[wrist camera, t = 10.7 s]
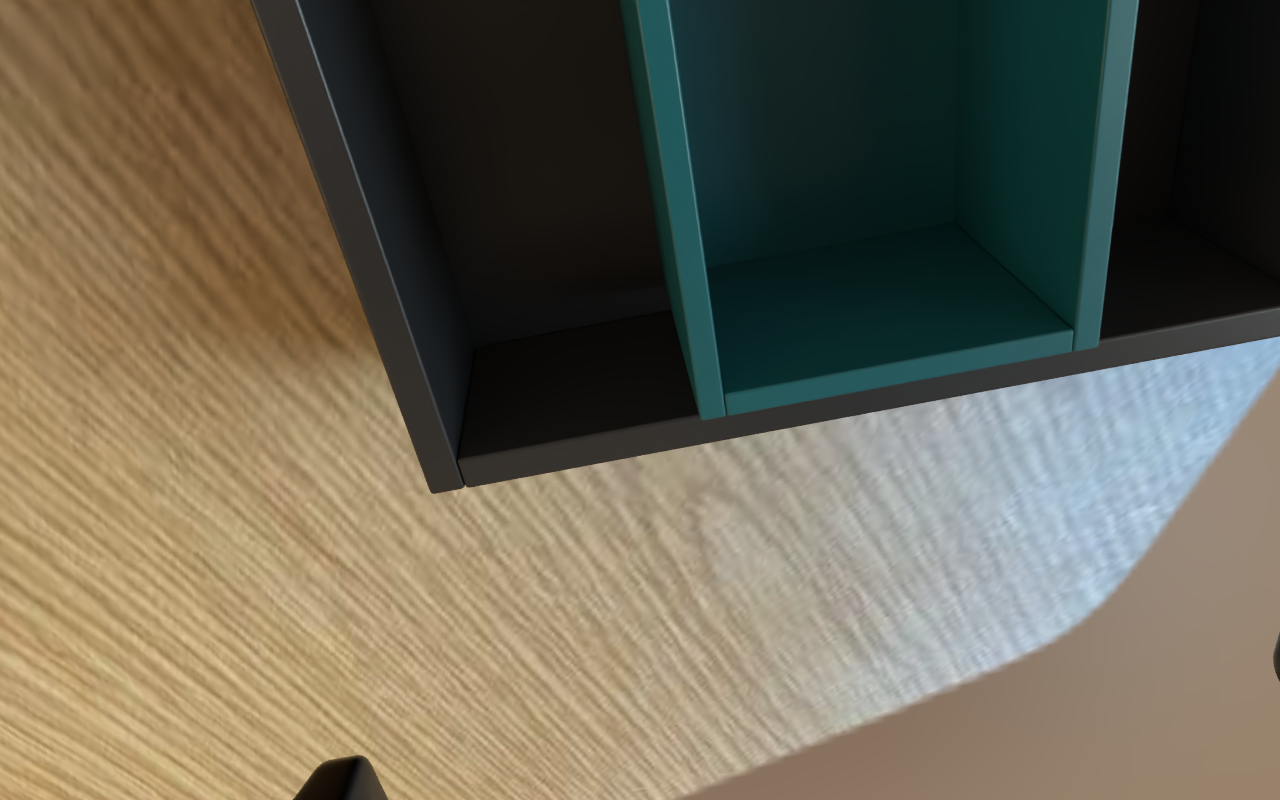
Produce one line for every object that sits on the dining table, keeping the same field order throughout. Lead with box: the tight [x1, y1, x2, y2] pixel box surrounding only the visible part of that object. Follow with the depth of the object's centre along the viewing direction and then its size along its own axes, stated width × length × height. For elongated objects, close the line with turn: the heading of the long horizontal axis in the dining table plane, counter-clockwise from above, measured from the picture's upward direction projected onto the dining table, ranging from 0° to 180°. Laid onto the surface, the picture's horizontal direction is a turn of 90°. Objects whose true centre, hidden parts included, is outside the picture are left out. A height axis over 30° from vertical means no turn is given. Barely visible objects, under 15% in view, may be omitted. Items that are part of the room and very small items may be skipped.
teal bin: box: [618, 0, 1139, 420], centre depth 13 cm, size 6×8×5 cm
